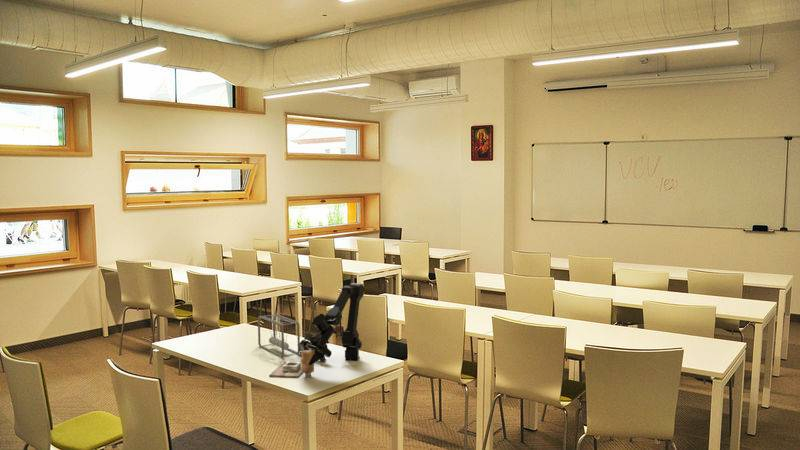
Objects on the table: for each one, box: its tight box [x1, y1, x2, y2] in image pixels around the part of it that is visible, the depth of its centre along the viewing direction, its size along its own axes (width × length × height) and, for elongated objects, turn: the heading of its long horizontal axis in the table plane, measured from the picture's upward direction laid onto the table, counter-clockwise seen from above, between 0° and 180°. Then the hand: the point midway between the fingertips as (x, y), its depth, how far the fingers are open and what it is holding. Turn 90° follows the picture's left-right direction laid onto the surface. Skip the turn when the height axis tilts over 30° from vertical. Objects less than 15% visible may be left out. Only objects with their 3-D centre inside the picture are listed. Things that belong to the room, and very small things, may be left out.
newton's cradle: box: [257, 313, 301, 358], centre depth 330 cm, size 30×10×18 cm, turn 38°
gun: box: [297, 343, 329, 363], centre depth 316 cm, size 2×25×10 cm, turn 44°
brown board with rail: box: [268, 361, 304, 379], centre depth 295 cm, size 14×22×3 cm, turn 172°
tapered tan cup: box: [301, 350, 315, 378], centre depth 285 cm, size 6×6×12 cm
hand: (305, 363), depth 284 cm, fingers closed on tapered tan cup, 6 cm apart
